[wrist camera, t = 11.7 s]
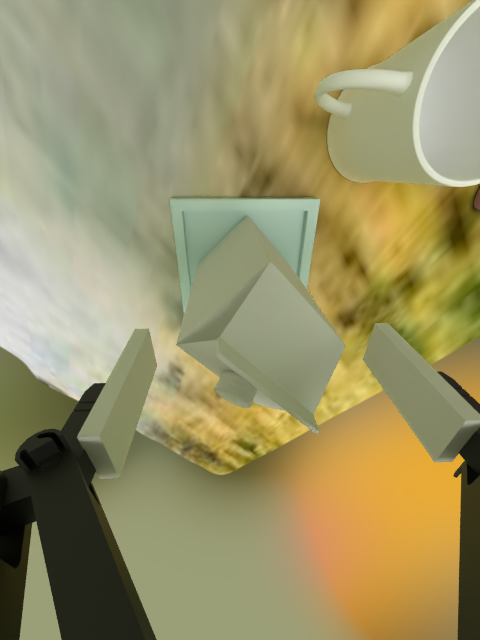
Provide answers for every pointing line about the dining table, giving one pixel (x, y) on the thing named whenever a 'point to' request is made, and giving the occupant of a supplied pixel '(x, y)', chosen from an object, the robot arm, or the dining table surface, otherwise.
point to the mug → (411, 110)
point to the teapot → (477, 200)
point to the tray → (225, 213)
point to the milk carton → (259, 327)
